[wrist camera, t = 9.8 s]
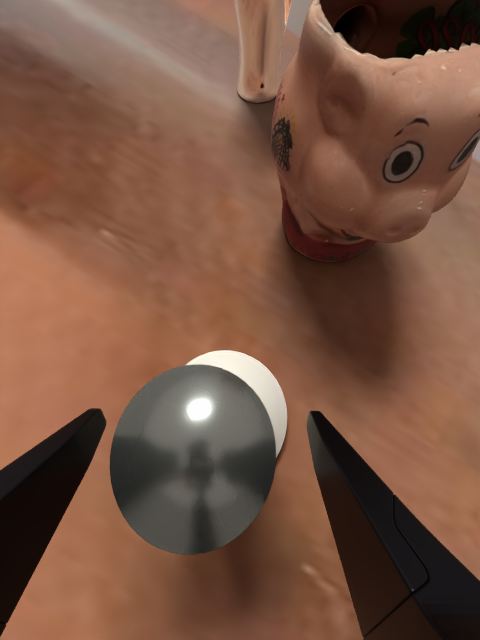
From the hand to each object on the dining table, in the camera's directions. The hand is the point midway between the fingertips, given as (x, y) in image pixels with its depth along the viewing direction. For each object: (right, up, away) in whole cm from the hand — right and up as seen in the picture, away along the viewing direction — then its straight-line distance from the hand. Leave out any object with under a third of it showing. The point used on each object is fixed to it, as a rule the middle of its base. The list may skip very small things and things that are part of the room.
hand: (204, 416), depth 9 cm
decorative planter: (+10, +16, +15) cm, 24 cm away
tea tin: (0, -3, +8) cm, 8 cm away
